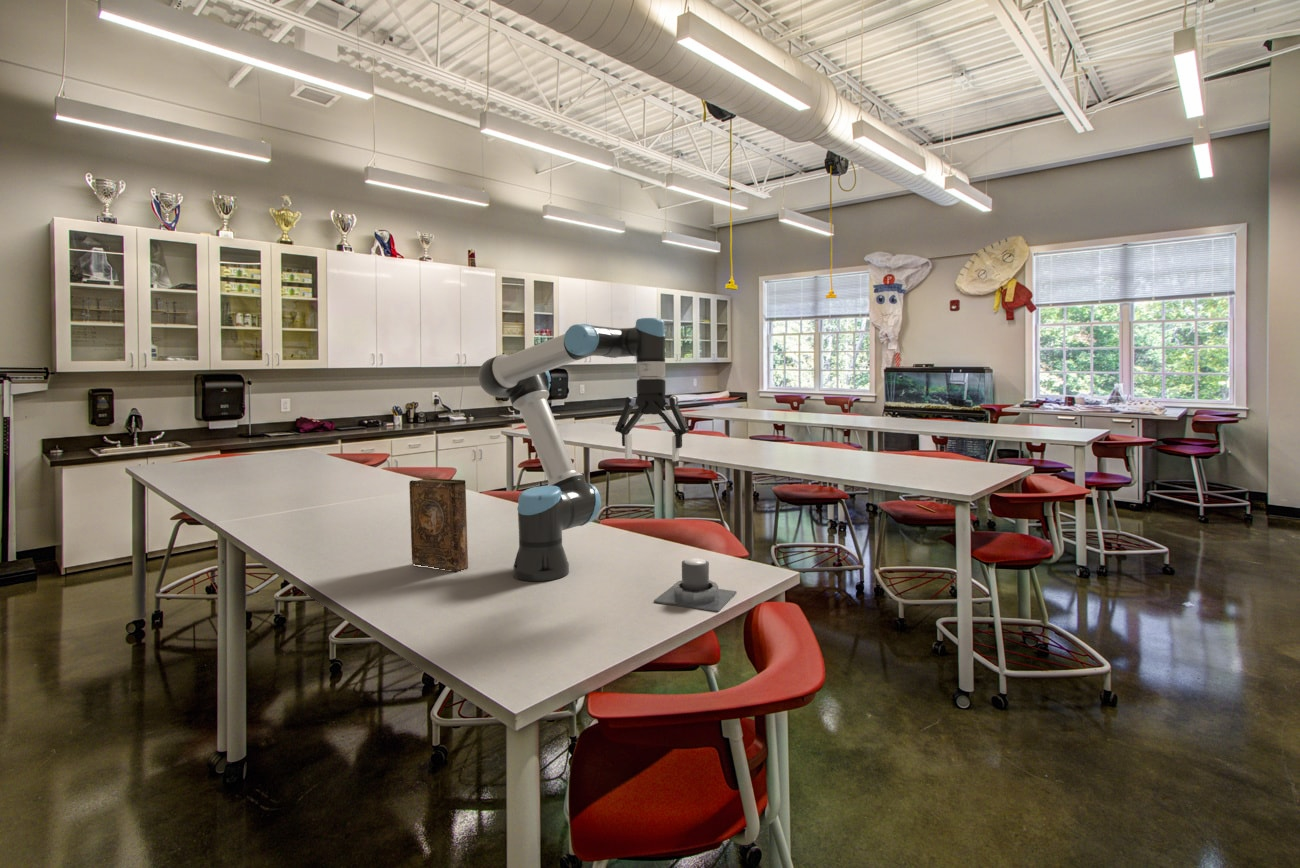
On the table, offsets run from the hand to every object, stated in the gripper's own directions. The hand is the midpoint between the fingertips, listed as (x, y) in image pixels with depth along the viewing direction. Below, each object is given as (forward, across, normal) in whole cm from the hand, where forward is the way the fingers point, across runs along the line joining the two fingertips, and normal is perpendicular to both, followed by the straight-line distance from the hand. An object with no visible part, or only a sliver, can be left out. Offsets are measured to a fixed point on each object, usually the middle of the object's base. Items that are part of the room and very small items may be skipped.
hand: (651, 459), depth 165 cm
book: (+32, -60, -14) cm, 69 cm away
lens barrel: (+31, +16, -10) cm, 36 cm away
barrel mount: (+32, +16, -10) cm, 37 cm away
